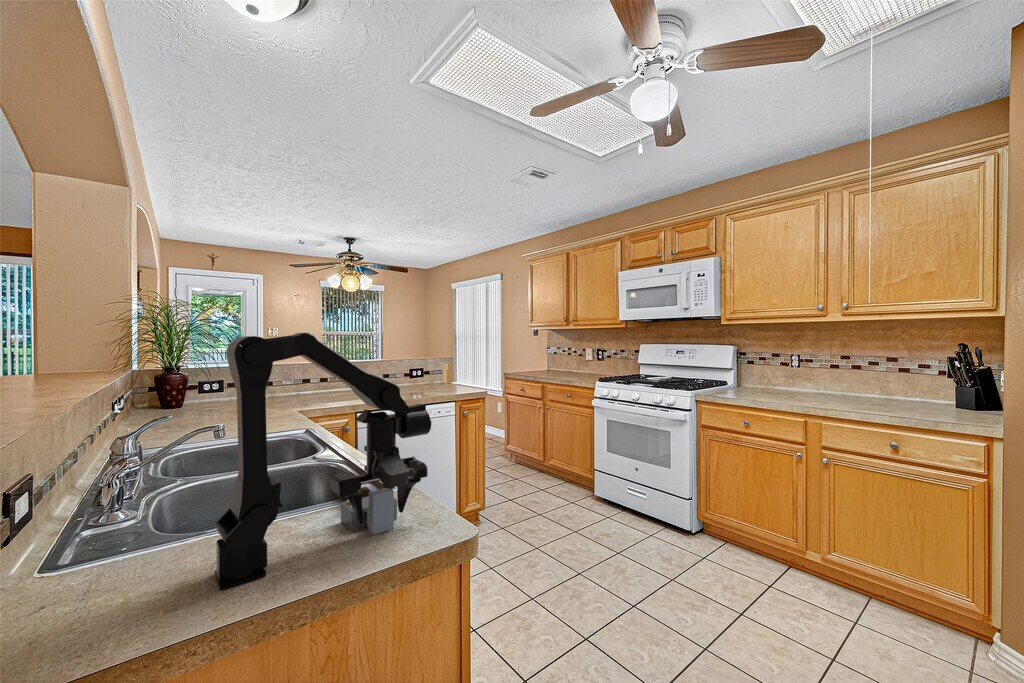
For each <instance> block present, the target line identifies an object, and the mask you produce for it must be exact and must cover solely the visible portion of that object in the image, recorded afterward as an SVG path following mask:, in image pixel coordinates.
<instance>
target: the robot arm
mask: <svg viewBox="0 0 1024 683" xmlns="http://www.w3.org/2000/svg"><path fill="white" fill-rule="evenodd" d="M225 355H226V360H227V363H228V368H229V372H230V375H231V378H232V381H233V383H234V386H235V390H236V415H237V420H236V421H237V450H238V451H237V454H238V457H237V458H238V460H237V461H238V473H237V477H236V480H235V482H234V486H233V490H232V494H231V499H230V505H229V506H230V507H229V508H228V509H227V510H226V511H225V512H224V513H223V514H222V515H221V516H220V517H219V518H218V520H217V521H216V522H215V523H214V525H215V526H214V527H215V528H216V530H217V532H218V535H220V536H221V538H220V539H216V570H214V573H213V574H214V577H215V581H216V583H217V586H218V589H219V590H221V591H222V590H226V589H229V588H231V587H235V586H238V585H241V584H244V583H247V582H251V581H255V580H257V579H261V578H264V577H266V575H267V571H266V569H265V568H267V566H268V543H267V540H266V539H265V536H266V533H267V531H268V528H269V527H270V526H271V524H272V523H273V522H274V521H275V520H276V519H277V517H278V512H279V508H283V505H282V502H281V498H280V497H281V490H282V484H281V482H279V480H277V479H276V478H275V477H274V476H273V475H272V474H270V475H269V472H268V449H267V448H268V445H267V444H268V441H267V437H268V435H267V408H266V407H267V403H266V402H267V401H266V397H267V395H266V390H267V386H268V384H269V381H270V378H271V375H272V371H273V370H272V369H273V364H274V362H279V361H283V360H288V359H292V358H296V357H299V356H300V357H302V358H304V359H305V360H307V361H308V362H310V363H311V364H313V365H315V366H316V367H318V368H319V369H321V370H322V371H324V372H325V373H327V374H329V375H330V376H332V377H333V378H335V379H337V380H338V381H340V382H342V383H343V384H344V385H346V386H347V387H348V388H349V389H351V390H352V392H353V393H354V394H355V395H356V396H357V397H358V398H359V399H360V400H361V401H362V402H363V403H364V404H365V405H367V406H368V407H371V408H374V409H378V410H380V411H375V412H373V411H371V410H370V409H366V408H365V409H364V410H363V411H362V413H360V414H359V415H358V416H356V418H355V420H356V422H359V423H362V424H366V445H364V448H363V450H364V452H366V465H364V468H363V469H364V470H363V471H365V472H366V473H363V474H359V475H357V474H355V473H354V472H353V471H346V472H340V473H336V474H333V475H332V477H331V478H330V481H329V484H330V485H329V486H330V487H329V488H330V490H331V491H332V492H334V493H335V494H336V495H338V496H339V497H341V496H345V497H346V498H348V499H347V500H349V502H350V504H351V506H352V508H353V511H354V513H355V516H356V518H357V520H358V523H359V524H362V521H363V511H362V497H363V495H364V493H362V492H361V491H360V489H361V487H362V486H363V485H367V484H372V483H376V482H381V483H382V486H383V487H384V488H387V489H393V488H396V491H397V492H396V493H397V495H396V496H397V497H396V499H397V510H398V512H399V513H400V514H402V513H403V512H404V510H405V506H406V504H407V501H408V498H409V495H410V493H411V492H412V488H413V487H414V486H415V485H416V484H418V483H420V482H421V480H422V479H423V478H427V477H428V471H429V470H428V465H427V464H426V463H425V462H423V461H421V460H418V459H417V458H416V456H411V457H404V458H401V456H400V450H399V447H398V446H396V444H397V440H396V439H397V438H396V436H397V435H398V437H400V438H401V439H407V438H412V437H420V436H424V435H428V434H429V433H430V431H431V430H432V420H431V418H430V414H429V412H428V410H427V405H426V404H423V403H416V404H415V403H414V404H413V405H408V404H407V402H406V401H405V400H404V399H403V398H402V396H401V389H400V387H399V386H398V384H396V383H394V382H393V381H390V380H388V379H385V378H384V377H380V376H378V375H375V374H372V373H369V372H367V371H365V370H364V369H362V368H360V367H359V366H358V365H356V364H354V363H353V362H351V361H350V360H349V359H347V358H346V357H345V356H344V355H343V356H342V355H341V354H340V353H338V352H337V351H335V350H334V349H332V348H330V347H329V346H327V345H326V344H325V343H323V342H322V341H321V340H318V339H317V337H316V336H315V335H314V334H312V333H309V332H297V333H294V334H291V335H284V336H277V337H271V338H270V337H269V338H263V337H261V336H255V335H254V336H253V335H252V336H251V335H247V336H246V335H243V336H239V337H236V338H235V339H233V340H232V341H231V342H229V344H228V345H227V347H226V354H225ZM386 411H389V412H393V414H391V413H390V414H388V413H387V412H386Z"/></svg>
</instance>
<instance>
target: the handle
mask: <svg viewBox="0 0 1024 683" xmlns="http://www.w3.org/2000/svg"><path fill="white" fill-rule="evenodd" d="M370 491H371V490H370ZM394 492H395V490H394V489H393V488H391V489H387V488H385V487H384V488H380V489H376V490H372V491H371V492H369V511H367V512H364V526H365V527H367V528H368V532H369V533H370V534H372V535H373V536H374V535H377V534H380V533H381V534H382V533H384V532H387V531H390V530H393V529H394V528H395V526H394V522H395V520H394V498H395V497H394V496H395V495H394V494H395V493H394Z"/></svg>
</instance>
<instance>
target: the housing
mask: <svg viewBox="0 0 1024 683" xmlns="http://www.w3.org/2000/svg"><path fill="white" fill-rule="evenodd" d="M362 511H363V521H362V524H359V523H358V520H357V518H356V516H355V513H354V511H353V508H352V506H351V504H350V502H349V500H348V499H346V501H343V502H341V503H340V523H341V525H343V526H344V527H345V528H346V529H347V530H348V531H349V530H350V531H349V532H350V533H353V532H357V531H361V530H363V528H364V529H365V524H364V512H367V511H369V496H368V497H364V498H362ZM396 518H397V519H398V498H395V497H394V519H395V520H397V519H396ZM360 529H361V530H360ZM356 530H357V531H356Z"/></svg>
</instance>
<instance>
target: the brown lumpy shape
mask: <svg viewBox="0 0 1024 683" xmlns="http://www.w3.org/2000/svg"><path fill="white" fill-rule="evenodd" d="M360 491H361V492H362V493H364V495H363V497H362V498H364V497H368V496H369V492H371V489H370V488H369V487H368V486H361V489H360ZM340 497H341V498H342V499H343V500H345V499H344V498H346V497H345V496H340Z"/></svg>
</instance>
